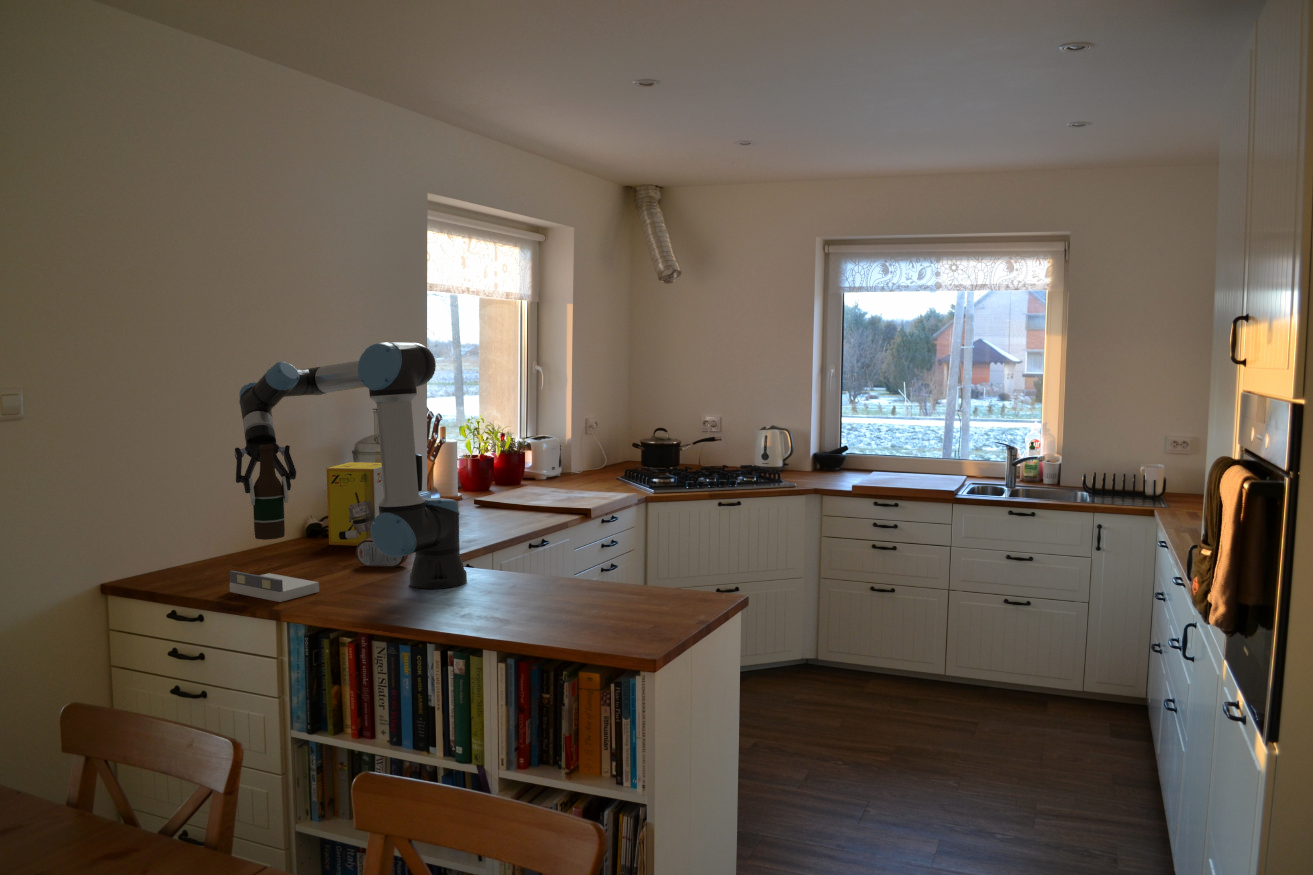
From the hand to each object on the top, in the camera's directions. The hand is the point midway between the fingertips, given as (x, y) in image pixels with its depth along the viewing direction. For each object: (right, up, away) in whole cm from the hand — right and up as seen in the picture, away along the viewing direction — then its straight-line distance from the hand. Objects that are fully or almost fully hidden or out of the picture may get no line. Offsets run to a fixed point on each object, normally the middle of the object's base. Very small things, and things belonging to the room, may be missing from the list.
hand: (270, 500), depth 246 cm
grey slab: (-1, -24, +6) cm, 25 cm away
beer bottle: (-2, -10, +4) cm, 11 cm away
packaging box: (+2, -18, +72) cm, 75 cm away
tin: (+19, -22, +34) cm, 45 cm away
